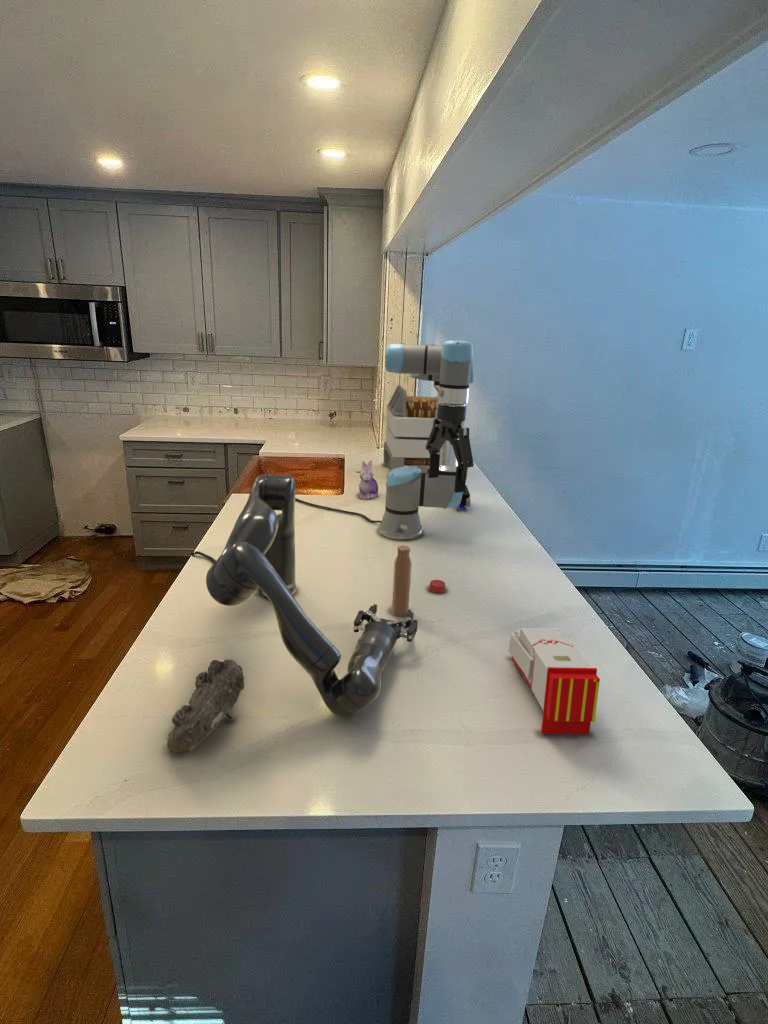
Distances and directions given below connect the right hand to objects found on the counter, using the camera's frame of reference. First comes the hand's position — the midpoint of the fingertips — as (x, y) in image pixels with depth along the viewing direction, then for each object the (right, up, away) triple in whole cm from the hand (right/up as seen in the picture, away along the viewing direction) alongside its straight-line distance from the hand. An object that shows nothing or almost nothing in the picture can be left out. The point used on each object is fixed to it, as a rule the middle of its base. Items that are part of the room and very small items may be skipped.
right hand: (445, 484), depth 151 cm
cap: (-1, -28, +10) cm, 30 cm away
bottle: (-12, -33, -2) cm, 36 cm away
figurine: (-23, -1, +87) cm, 90 cm away
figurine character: (+14, -5, +80) cm, 81 cm away
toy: (+17, -45, -30) cm, 57 cm away
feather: (-56, -9, +59) cm, 82 cm away
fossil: (-49, -46, -43) cm, 80 cm away
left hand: (-14, -31, -13) cm, 37 cm away
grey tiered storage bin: (+1, +12, +124) cm, 125 cm away
